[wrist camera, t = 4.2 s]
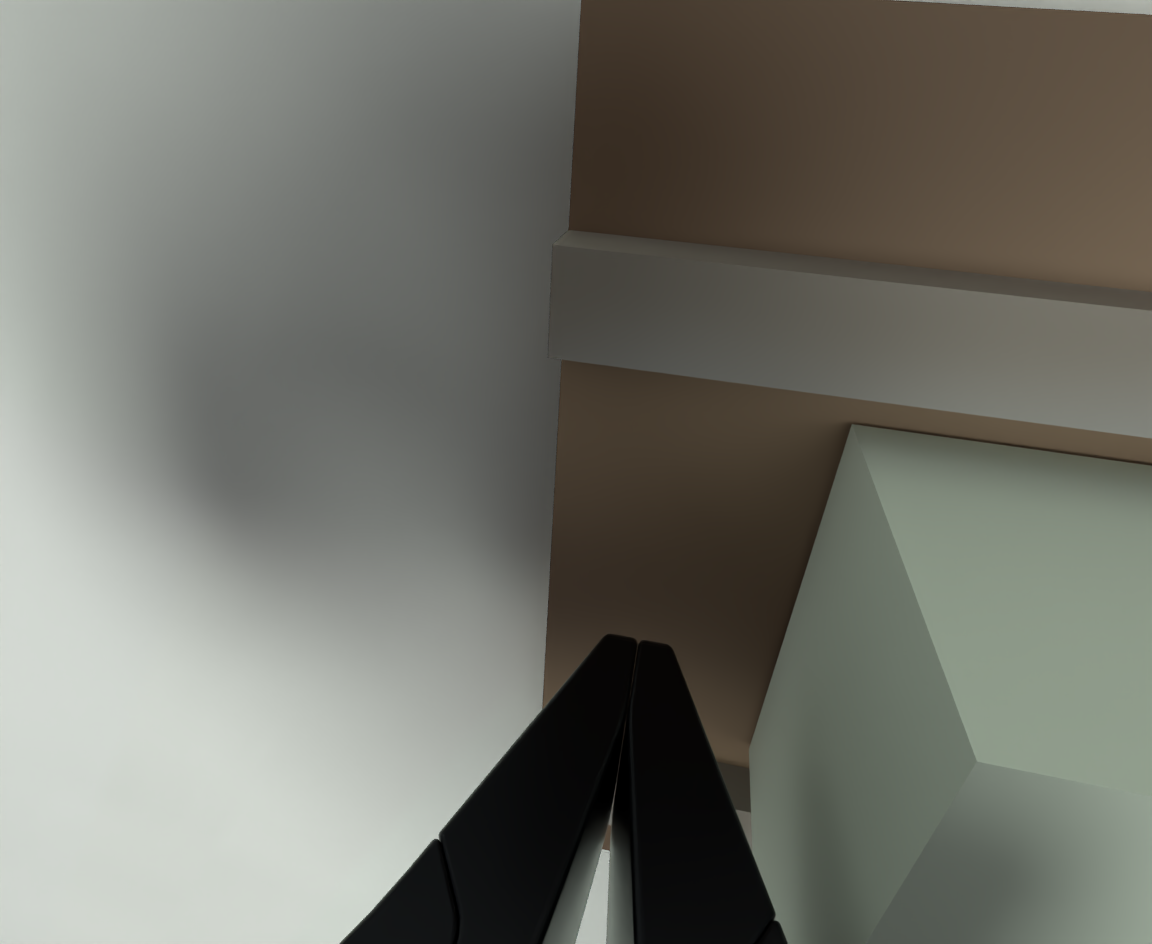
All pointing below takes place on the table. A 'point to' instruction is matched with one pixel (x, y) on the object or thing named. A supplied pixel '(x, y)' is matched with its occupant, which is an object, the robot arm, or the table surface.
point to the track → (824, 293)
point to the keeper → (964, 703)
